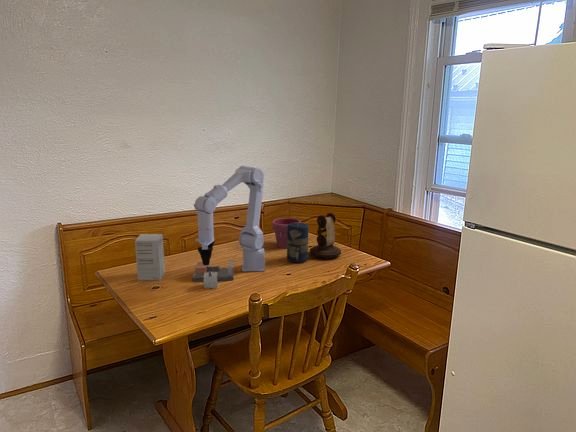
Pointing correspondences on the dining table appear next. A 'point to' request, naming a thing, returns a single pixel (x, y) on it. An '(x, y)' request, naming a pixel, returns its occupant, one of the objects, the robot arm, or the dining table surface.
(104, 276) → the dining table surface
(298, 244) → the canister
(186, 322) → the dining table surface
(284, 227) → the plant pot
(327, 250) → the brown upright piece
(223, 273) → the press bed
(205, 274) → the housing
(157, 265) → the supplement box
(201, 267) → the tall terracotta prism
